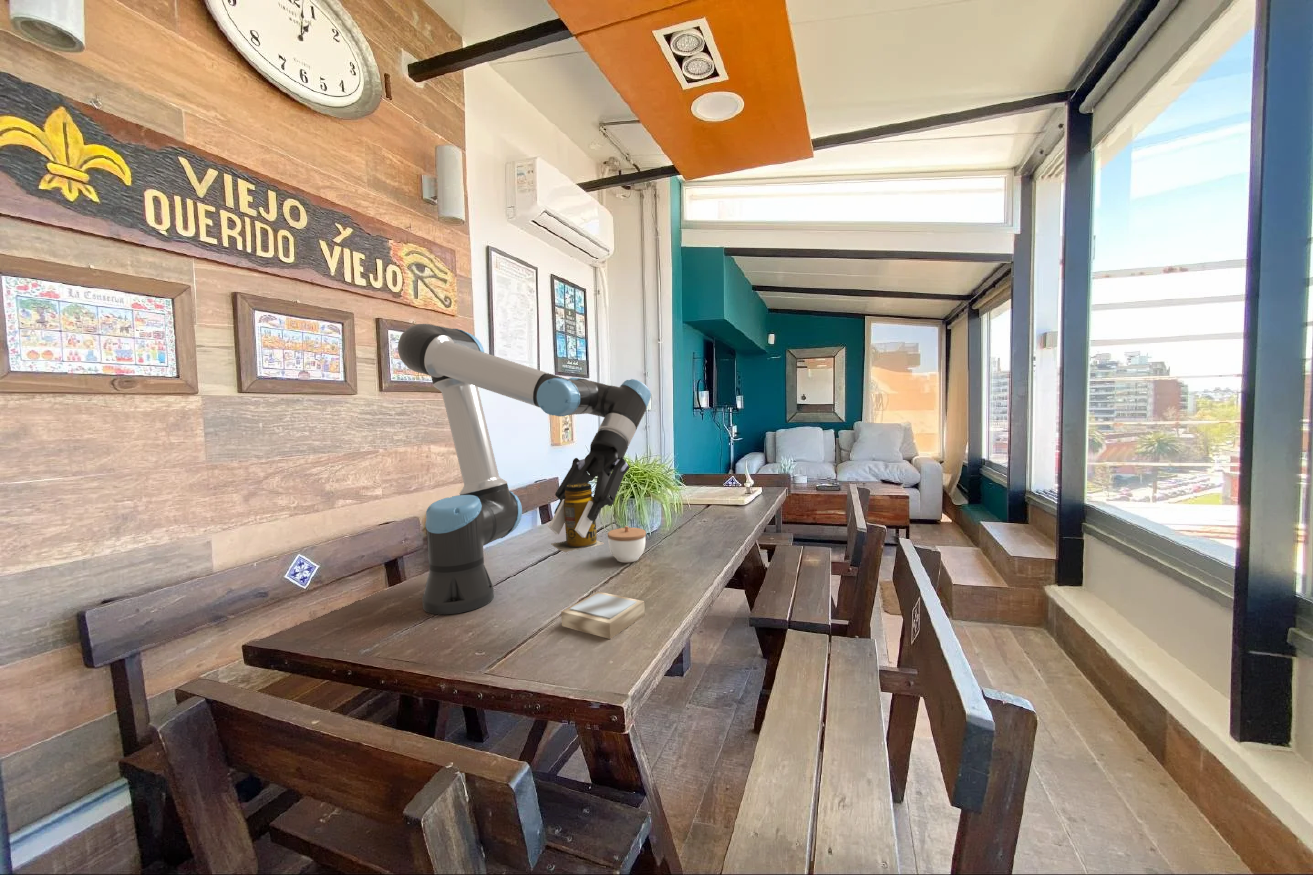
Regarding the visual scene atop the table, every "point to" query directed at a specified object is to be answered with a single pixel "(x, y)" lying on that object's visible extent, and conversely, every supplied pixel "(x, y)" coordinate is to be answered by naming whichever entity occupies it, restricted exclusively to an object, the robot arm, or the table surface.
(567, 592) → the table surface
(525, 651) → the table surface
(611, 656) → the table surface
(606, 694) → the table surface
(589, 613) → the plinth
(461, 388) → the robot arm
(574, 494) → the condiment
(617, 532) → the lidded jar
